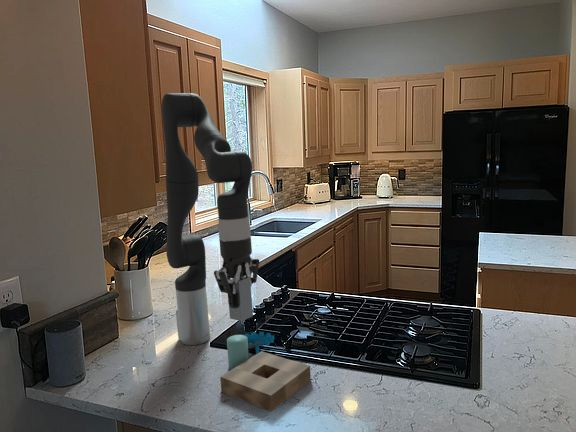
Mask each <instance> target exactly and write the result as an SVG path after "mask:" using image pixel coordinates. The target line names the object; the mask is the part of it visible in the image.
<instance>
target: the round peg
mask: <svg viewBox="0 0 576 432" xmlns="http://www.w3.org/2000/svg"><path fill="white" fill-rule="evenodd" d="M244 335H245V334H234V335H231V336H229V337H228V338H227V339H226V348H227V358H228V359H227V361H228V362H227V363H228V369H229V371H231V370H232V369H234V368H235V367H237V366H239V365H240V364H242V363H243V362H245V361H247V360H248V359H250V356H249V348H248V340H247V337H246V336H244Z"/></svg>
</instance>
